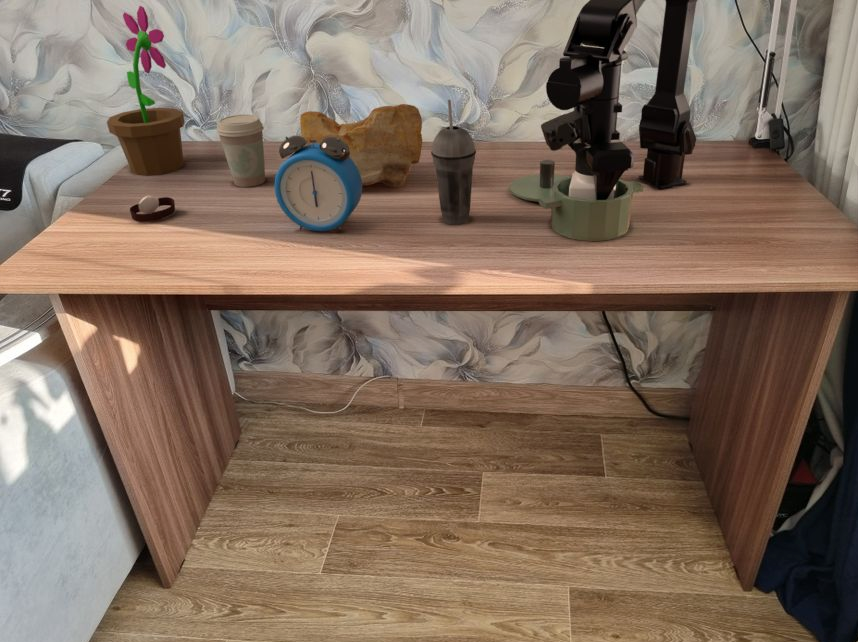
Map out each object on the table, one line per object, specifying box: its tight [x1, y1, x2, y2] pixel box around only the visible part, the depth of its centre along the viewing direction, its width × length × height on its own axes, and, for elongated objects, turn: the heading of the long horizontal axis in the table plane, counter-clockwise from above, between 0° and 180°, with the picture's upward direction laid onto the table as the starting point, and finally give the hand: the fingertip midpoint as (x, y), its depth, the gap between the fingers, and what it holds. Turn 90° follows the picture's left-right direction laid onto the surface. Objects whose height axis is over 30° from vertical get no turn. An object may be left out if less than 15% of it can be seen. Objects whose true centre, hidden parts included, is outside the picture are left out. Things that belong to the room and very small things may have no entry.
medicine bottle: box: [569, 146, 616, 200], centre depth 117 cm, size 7×7×12 cm
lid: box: [508, 159, 569, 203], centre depth 132 cm, size 14×14×6 cm
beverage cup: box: [430, 99, 477, 226], centre depth 118 cm, size 7×7×20 cm
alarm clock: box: [274, 135, 363, 233], centre depth 118 cm, size 13×6×15 cm, turn 81°
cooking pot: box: [538, 175, 644, 242], centre depth 118 cm, size 13×18×6 cm
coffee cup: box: [216, 113, 266, 188], centre depth 139 cm, size 8×8×12 cm
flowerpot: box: [106, 5, 186, 176], centre depth 143 cm, size 14×14×30 cm
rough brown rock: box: [299, 103, 423, 188], centre depth 138 cm, size 23×17×15 cm
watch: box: [129, 194, 176, 223], centre depth 126 cm, size 8×5×4 cm, turn 135°
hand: (592, 195), depth 118 cm, fingers closed on medicine bottle, 8 cm apart
